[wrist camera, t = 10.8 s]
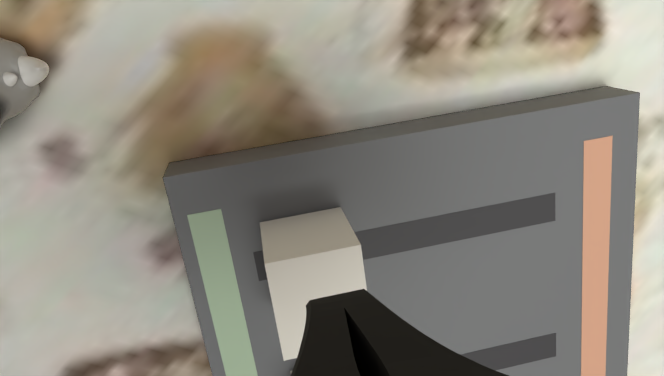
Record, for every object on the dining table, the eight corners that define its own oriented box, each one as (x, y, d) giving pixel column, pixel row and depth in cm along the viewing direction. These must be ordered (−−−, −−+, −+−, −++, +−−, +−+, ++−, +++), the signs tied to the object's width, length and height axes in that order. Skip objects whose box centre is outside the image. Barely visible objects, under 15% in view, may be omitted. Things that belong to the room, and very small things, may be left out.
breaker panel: (263, 545, 27) (265, 585, 25) (169, 162, 21) (162, 177, 19) (597, 459, 29) (622, 490, 27) (606, 86, 23) (640, 92, 21)
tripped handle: (276, 306, 21) (283, 360, 18) (259, 222, 20) (264, 264, 16) (352, 290, 21) (373, 340, 18) (340, 207, 20) (360, 244, 17)
